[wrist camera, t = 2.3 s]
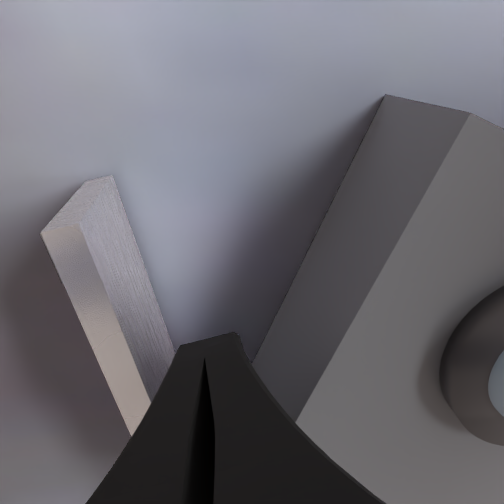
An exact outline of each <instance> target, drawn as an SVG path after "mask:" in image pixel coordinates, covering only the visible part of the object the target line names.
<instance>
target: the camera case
mask: <svg viewBox="0 0 504 504" xmlns="http://www.w3.org/2000/svg"><path fill="white" fill-rule="evenodd" d="M252 366H253V368H254V370H255V371H256V373H257V374H258V376H259V377H260V379H261V380H262V382H263V383H264V384H265V386H266V387H267V389H268V390H269V391H270V393H271V394H272V395H273V397H274V398H275V399H276V401H277V402H278V403H279V404H280V405H281V407H282V408H283V409H284V410H285V411H286V413H287V414H288V415H289V416H290V417H291V418H292V420H293V421H294V422H295V423H296V424H297V425H298V426H299V427H300V428H301V429H302V430H303V432H304V433H305V434H306V435H307V436H308V437H309V438H310V439H311V440H312V441H313V442H314V443H315V444H316V445H317V446H318V447H319V448H321V449H322V450H323V451H324V452H325V453H326V454H327V455H328V456H329V457H330V458H331V459H332V460H333V461H334V462H336V463H337V464H338V465H339V466H340V467H342V468H343V469H344V470H345V471H346V472H348V473H349V474H350V475H351V476H352V477H354V478H355V479H356V480H357V481H358V482H360V483H361V484H362V485H363V486H364V487H366V488H367V489H368V490H369V491H370V492H372V493H373V494H374V495H375V496H377V497H378V498H379V499H381V500H382V501H384V502H385V503H386V504H504V129H503V128H501V127H499V126H497V125H494V124H492V123H490V122H488V121H486V120H484V119H482V118H480V117H478V116H476V115H474V114H472V113H469V112H464V111H460V110H455V109H451V108H446V107H441V106H437V105H432V104H427V103H423V102H418V101H413V100H409V99H404V98H400V97H395V96H390V95H386V94H385V96H384V98H383V100H382V102H381V104H380V106H379V108H378V110H377V112H376V114H375V116H374V118H373V121H372V123H371V125H370V127H369V129H368V131H367V133H366V135H365V137H364V139H363V141H362V143H361V145H360V147H359V149H358V151H357V153H356V155H355V157H354V159H353V161H352V163H351V165H350V167H349V169H348V171H347V173H346V175H345V177H344V179H343V181H342V183H341V185H340V187H339V189H338V191H337V193H336V195H335V197H334V199H333V201H332V203H331V205H330V207H329V209H328V211H327V213H326V215H325V217H324V219H323V221H322V224H321V226H320V228H319V230H318V232H317V234H316V236H315V238H314V240H313V242H312V244H311V246H310V248H309V250H308V252H307V254H306V256H305V258H304V260H303V262H302V264H301V266H300V268H299V270H298V272H297V274H296V276H295V278H294V280H293V282H292V284H291V286H290V288H289V290H288V292H287V294H286V296H285V298H284V300H283V302H282V304H281V306H280V308H279V310H278V312H277V314H276V316H275V318H274V320H273V322H272V324H271V327H270V329H269V331H268V333H267V335H266V337H265V339H264V341H263V343H262V345H261V347H260V349H259V351H258V353H257V355H256V357H255V359H254V361H253V363H252Z"/></svg>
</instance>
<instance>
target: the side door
mask: <svg viewBox="0 0 504 504" xmlns="http://www.w3.org/2000/svg"><path fill="white" fill-rule="evenodd" d="M40 236H41V238H42V241H43V243H44V245H45V247H46V249H47V252H48V254H49V256H50V258H51V261H52V263H53V265H54V267H55V270H56V272H57V274H58V276H59V279H60V281H61V283H63V284H64V286H65V289H66V291H67V293H68V295H69V298H70V300H71V302H72V304H73V307H74V309H75V311H76V313H77V316H78V318H79V320H80V322H81V325H82V327H83V329H84V331H85V334H86V336H87V338H88V340H89V343H90V345H91V347H92V349H93V352H94V354H95V356H96V358H97V361H98V363H99V365H100V367H101V370H102V372H103V374H104V376H105V379H106V381H107V383H108V385H109V387H110V390H111V392H112V394H113V396H114V399H115V401H116V403H117V405H118V408H119V410H120V412H121V414H122V417H123V419H124V421H125V423H126V426H127V428H128V430H129V432H130V435H131V437H132V435H133V434H134V432H135V430H136V429H137V427H138V425H139V424H140V422H141V420H142V419H143V417H144V415H145V413H146V411H147V410H148V408H149V406H150V404H151V402H152V400H153V398H154V397H155V395H156V393H157V391H158V389H159V387H160V385H161V383H162V381H163V379H164V377H165V375H166V373H167V371H168V369H169V367H170V365H171V363H172V360H173V358H174V356H175V351H174V348H173V345H172V342H171V340H170V337H169V334H168V331H167V328H166V325H165V322H164V320H163V317H162V314H161V311H160V308H159V305H158V303H157V300H156V297H155V294H154V291H153V288H152V286H151V283H150V280H149V277H148V274H147V271H146V268H145V266H144V263H143V260H142V257H141V254H140V251H139V249H138V246H137V243H136V240H135V237H134V234H133V232H132V229H131V226H130V223H129V220H128V217H127V215H126V212H125V209H124V206H123V203H122V200H121V197H120V195H119V192H118V189H117V186H116V183H115V180H114V178H113V175H109V176H105V177H101V178H97V179H93V180H88V181H85V182H84V183H83V185H82V186H81V187H80V188H79V189H78V190H77V191H76V193H75V194H74V195H73V196H72V197H71V198H70V199H69V201H68V202H67V203H66V204H65V205H64V206H63V207H62V209H61V210H60V211H59V212H58V213H57V214H56V215H55V217H54V218H53V219H52V220H51V221H50V222H49V223H48V225H47V226H46V227H45V228H44V229H43V230H42V231H41V233H40Z"/></svg>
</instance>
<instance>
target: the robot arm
mask: <svg viewBox="0 0 504 504" xmlns="http://www.w3.org/2000/svg"><path fill="white" fill-rule="evenodd" d="M86 504H386V503H385V502H384V501H382V500H381V499H379V498H378V497H377V496H375V495H374V494H373V493H372V492H370V491H369V490H368V489H367V488H366V487H364V486H363V485H362V484H361V483H360V482H358V481H357V480H356V479H355V478H354V477H352V476H351V475H350V474H349V473H348V472H346V471H345V470H344V469H343V468H342V467H340V466H339V465H338V464H337V463H336V462H334V461H333V460H332V459H331V458H330V457H329V456H328V455H327V454H326V453H325V452H324V451H323V450H322V449H321V448H319V447H318V446H317V445H316V444H315V443H314V442H313V441H312V440H311V439H310V438H309V437H308V436H307V435H306V434H305V433H304V432H303V430H302V429H301V428H300V427H299V426H298V425H297V424H296V423H295V422H294V421H293V420H292V418H291V417H290V416H289V415H288V414H287V413H286V411H285V410H284V409H283V408H282V407H281V405H280V404H279V403H278V402H277V401H276V399H275V398H274V397H273V395H272V394H271V393H270V391H269V390H268V389H267V387H266V386H265V384H264V383H263V382H262V380H261V379H260V377H259V376H258V374H257V373H256V371H255V370H254V368H253V366H252V365H251V363H250V361H249V359H248V358H247V356H246V354H245V352H244V349H243V347H242V343H241V339H240V336H239V335H238V334H236V333H234V332H232V333H228V334H224V335H220V336H216V337H212V338H208V339H204V340H200V341H196V342H192V343H188V344H184V345H180V347H179V348H178V350H177V352H176V354H175V356H174V358H173V360H172V363H171V365H170V367H169V369H168V371H167V373H166V375H165V377H164V379H163V381H162V383H161V385H160V387H159V389H158V391H157V393H156V395H155V397H154V398H153V400H152V402H151V404H150V406H149V408H148V410H147V411H146V413H145V415H144V417H143V419H142V420H141V422H140V424H139V425H138V427H137V429H136V430H135V432H134V434H133V435H132V437H131V439H130V440H129V442H128V443H127V445H126V447H125V448H124V450H123V452H122V453H121V455H120V456H119V458H118V459H117V461H116V462H115V464H114V465H113V467H112V468H111V470H110V471H109V472H108V474H107V475H106V477H105V478H104V480H103V481H102V482H101V484H100V485H99V486H98V488H97V489H96V491H95V492H94V493H93V495H92V496H91V497H90V499H89V500H88V501H87V502H86Z"/></svg>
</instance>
